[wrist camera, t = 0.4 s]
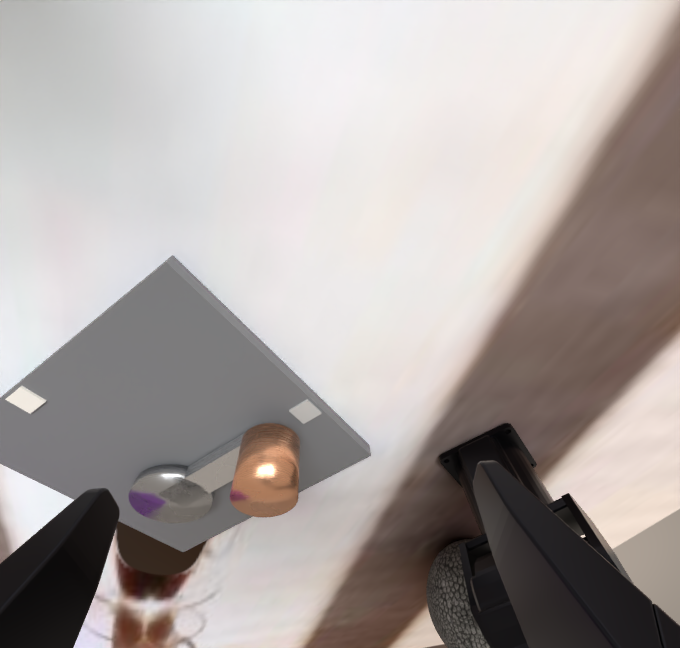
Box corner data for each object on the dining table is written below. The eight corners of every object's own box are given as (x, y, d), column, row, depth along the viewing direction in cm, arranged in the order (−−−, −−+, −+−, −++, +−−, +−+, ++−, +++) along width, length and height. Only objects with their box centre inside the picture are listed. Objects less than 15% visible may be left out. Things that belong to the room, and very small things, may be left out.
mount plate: (369, 445, 28) (371, 457, 27) (186, 541, 33) (182, 554, 32) (172, 255, 19) (165, 263, 18) (-37, 428, 24) (-52, 441, 23)
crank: (178, 519, 30) (156, 588, 25) (117, 486, 27) (80, 557, 23) (319, 442, 26) (321, 506, 22) (265, 394, 23) (254, 458, 19)
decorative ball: (411, 572, 40) (439, 696, 31) (419, 523, 35) (455, 656, 26) (496, 564, 40) (546, 684, 32) (517, 514, 35) (583, 642, 27)
